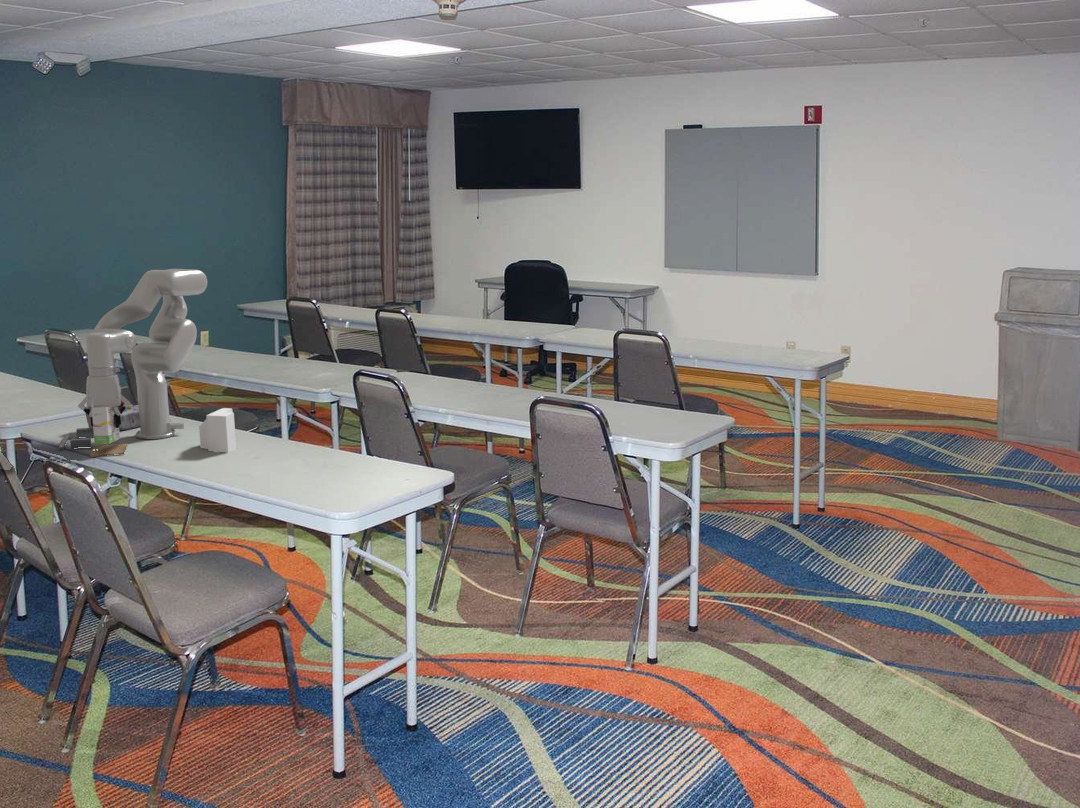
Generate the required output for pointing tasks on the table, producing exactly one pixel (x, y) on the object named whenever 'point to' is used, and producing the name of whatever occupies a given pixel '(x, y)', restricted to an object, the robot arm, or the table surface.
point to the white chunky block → (218, 431)
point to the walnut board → (108, 450)
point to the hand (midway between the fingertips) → (106, 427)
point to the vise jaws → (79, 442)
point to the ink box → (104, 425)
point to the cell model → (125, 417)
